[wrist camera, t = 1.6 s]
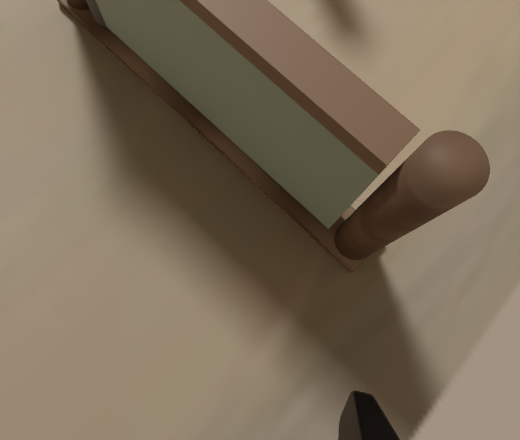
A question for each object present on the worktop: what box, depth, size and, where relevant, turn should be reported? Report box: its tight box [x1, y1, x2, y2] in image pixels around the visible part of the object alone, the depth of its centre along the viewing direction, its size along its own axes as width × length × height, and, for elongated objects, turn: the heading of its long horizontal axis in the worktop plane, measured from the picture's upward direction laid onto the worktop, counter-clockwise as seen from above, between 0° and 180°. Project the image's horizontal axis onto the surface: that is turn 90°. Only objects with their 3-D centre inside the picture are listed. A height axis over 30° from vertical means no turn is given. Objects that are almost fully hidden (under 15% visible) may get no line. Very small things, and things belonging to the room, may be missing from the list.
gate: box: [86, 0, 420, 229], centre depth 19 cm, size 17×2×9 cm, turn 47°
